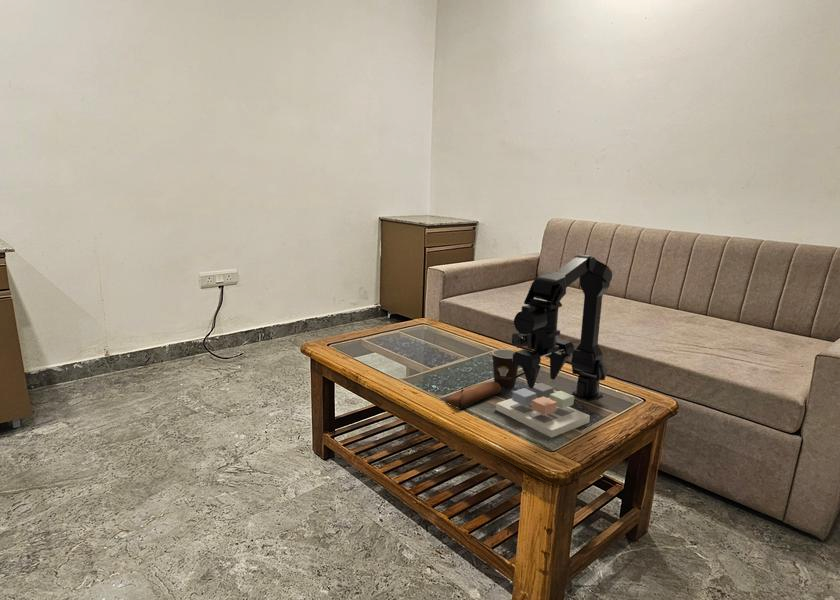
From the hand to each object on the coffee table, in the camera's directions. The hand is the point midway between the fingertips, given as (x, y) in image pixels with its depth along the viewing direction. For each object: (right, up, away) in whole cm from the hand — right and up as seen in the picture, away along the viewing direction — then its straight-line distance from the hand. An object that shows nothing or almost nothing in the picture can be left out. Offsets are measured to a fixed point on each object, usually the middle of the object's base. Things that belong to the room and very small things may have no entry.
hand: (541, 383), depth 144 cm
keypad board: (+1, -10, +7) cm, 12 cm away
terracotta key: (+1, -7, +1) cm, 7 cm away
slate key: (-3, -6, +6) cm, 9 cm away
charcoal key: (+2, -5, +11) cm, 12 cm away
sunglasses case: (-17, -8, +18) cm, 26 cm away
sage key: (+6, -6, +5) cm, 10 cm away
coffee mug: (-4, -5, +28) cm, 29 cm away
